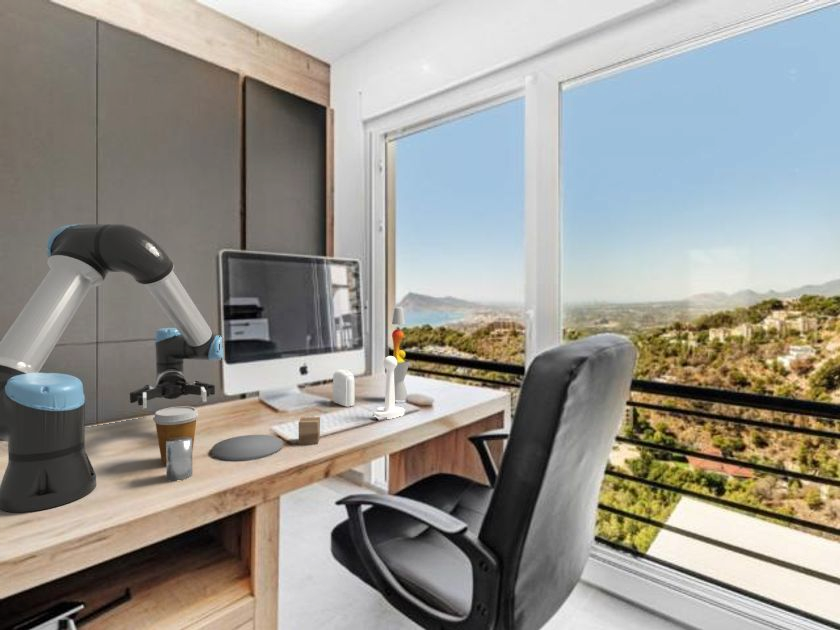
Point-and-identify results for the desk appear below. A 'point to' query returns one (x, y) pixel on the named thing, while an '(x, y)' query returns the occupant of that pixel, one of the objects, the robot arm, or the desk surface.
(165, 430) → the disposable coffee cup
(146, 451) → the desk surface
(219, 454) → the round gray coaster
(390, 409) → the joystick
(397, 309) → the lava lamp
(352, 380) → the photo printer
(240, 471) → the desk surface
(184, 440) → the chrome cylinder
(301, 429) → the walnut block
